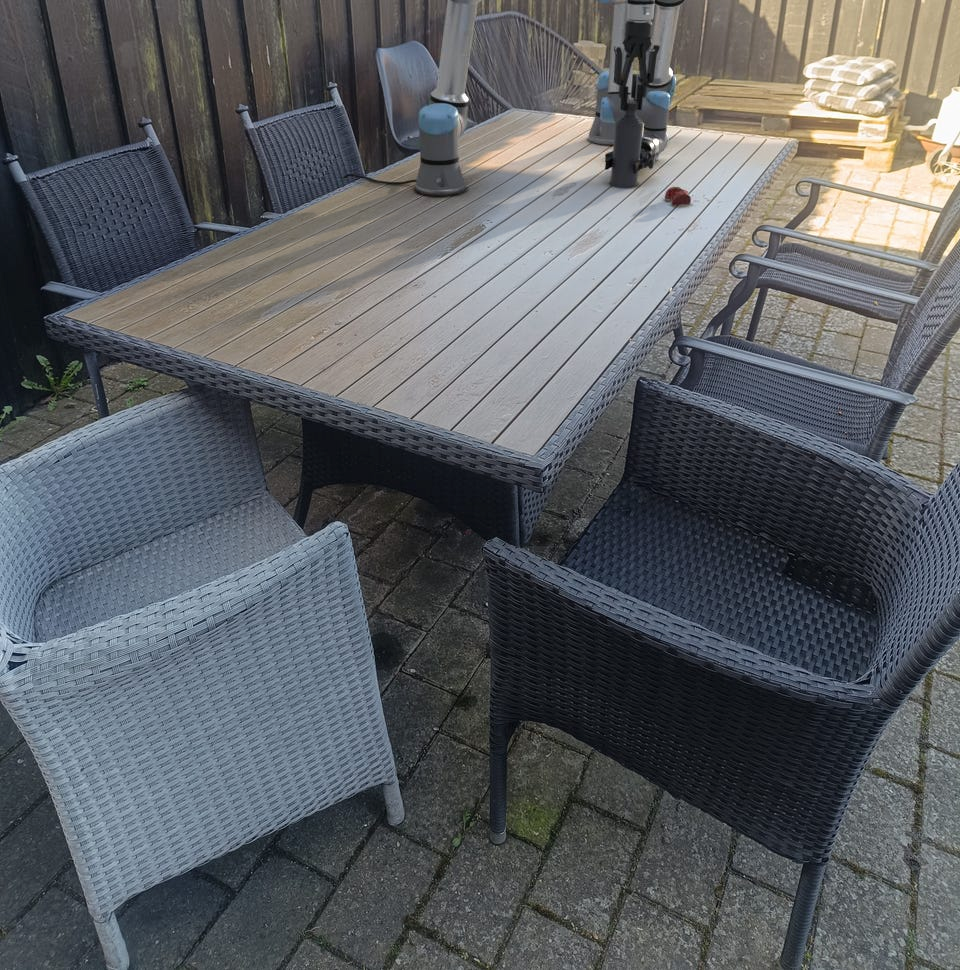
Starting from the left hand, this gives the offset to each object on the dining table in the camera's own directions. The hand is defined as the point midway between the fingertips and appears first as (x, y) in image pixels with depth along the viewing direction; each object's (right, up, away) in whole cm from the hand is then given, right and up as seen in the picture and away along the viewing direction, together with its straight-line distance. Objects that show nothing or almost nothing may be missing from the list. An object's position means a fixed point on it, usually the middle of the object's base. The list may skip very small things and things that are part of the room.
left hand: (630, 109), depth 251 cm
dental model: (+13, -29, -3) cm, 32 cm away
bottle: (0, -18, +13) cm, 22 cm away
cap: (0, +1, -1) cm, 2 cm away
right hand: (-2, -15, +6) cm, 16 cm away
